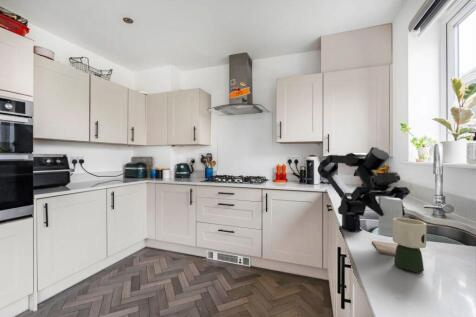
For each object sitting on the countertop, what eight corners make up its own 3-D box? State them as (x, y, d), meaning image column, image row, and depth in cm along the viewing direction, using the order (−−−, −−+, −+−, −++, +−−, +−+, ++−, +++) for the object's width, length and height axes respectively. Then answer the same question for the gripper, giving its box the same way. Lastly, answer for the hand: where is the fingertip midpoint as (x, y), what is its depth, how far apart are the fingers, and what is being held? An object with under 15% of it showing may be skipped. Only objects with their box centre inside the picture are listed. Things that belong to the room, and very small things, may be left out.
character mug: (429, 282, 50) (430, 228, 51) (393, 273, 54) (393, 223, 55) (422, 264, 59) (422, 218, 60) (391, 257, 63) (391, 214, 64)
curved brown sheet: (372, 242, 75) (372, 240, 75) (398, 245, 72) (398, 244, 72) (380, 253, 66) (380, 252, 66) (411, 258, 63) (411, 256, 63)
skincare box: (399, 233, 70) (400, 198, 70) (402, 238, 66) (403, 200, 66) (377, 230, 73) (378, 196, 72) (379, 234, 69) (380, 198, 69)
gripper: (356, 163, 72) (380, 202, 61) (406, 164, 74) (438, 201, 63) (342, 183, 80) (361, 220, 69) (387, 183, 82) (413, 219, 71)
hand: (393, 215), depth 68 cm, fingers closed on skincare box, 7 cm apart
